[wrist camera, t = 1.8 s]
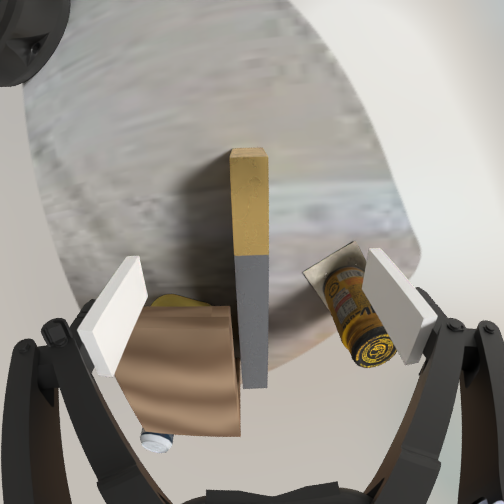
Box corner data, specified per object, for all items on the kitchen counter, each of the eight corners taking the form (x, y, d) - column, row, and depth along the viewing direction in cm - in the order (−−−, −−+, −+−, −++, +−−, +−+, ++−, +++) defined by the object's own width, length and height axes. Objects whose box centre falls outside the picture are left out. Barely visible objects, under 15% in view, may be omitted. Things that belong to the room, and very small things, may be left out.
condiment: (332, 315, 38) (358, 383, 27) (302, 271, 35) (326, 340, 24) (378, 288, 36) (418, 348, 26) (354, 239, 33) (399, 296, 23)
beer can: (170, 375, 43) (156, 438, 32) (186, 392, 45) (177, 452, 34) (147, 381, 43) (132, 441, 33) (164, 397, 45) (153, 455, 35)
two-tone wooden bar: (232, 148, 28) (229, 157, 22) (262, 147, 28) (268, 156, 22) (242, 350, 40) (243, 388, 34) (263, 349, 40) (267, 387, 34)
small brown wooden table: (133, 259, 33) (92, 325, 22) (232, 255, 34) (228, 328, 22) (161, 363, 41) (145, 431, 30) (240, 364, 42) (240, 436, 30)
